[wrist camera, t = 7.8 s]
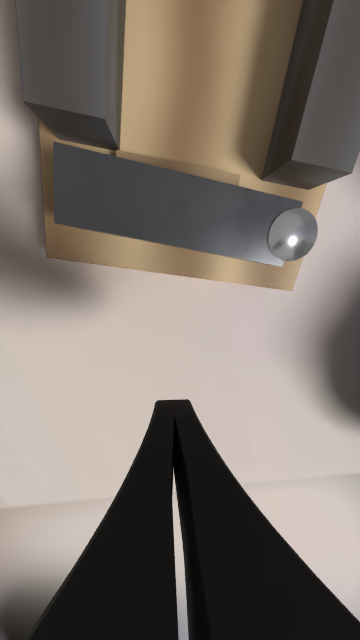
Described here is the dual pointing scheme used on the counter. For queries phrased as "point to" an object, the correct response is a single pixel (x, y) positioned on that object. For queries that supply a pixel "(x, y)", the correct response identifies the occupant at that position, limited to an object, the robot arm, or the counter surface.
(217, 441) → the counter surface
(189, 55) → the wooden board with bars
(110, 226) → the hinged leg
